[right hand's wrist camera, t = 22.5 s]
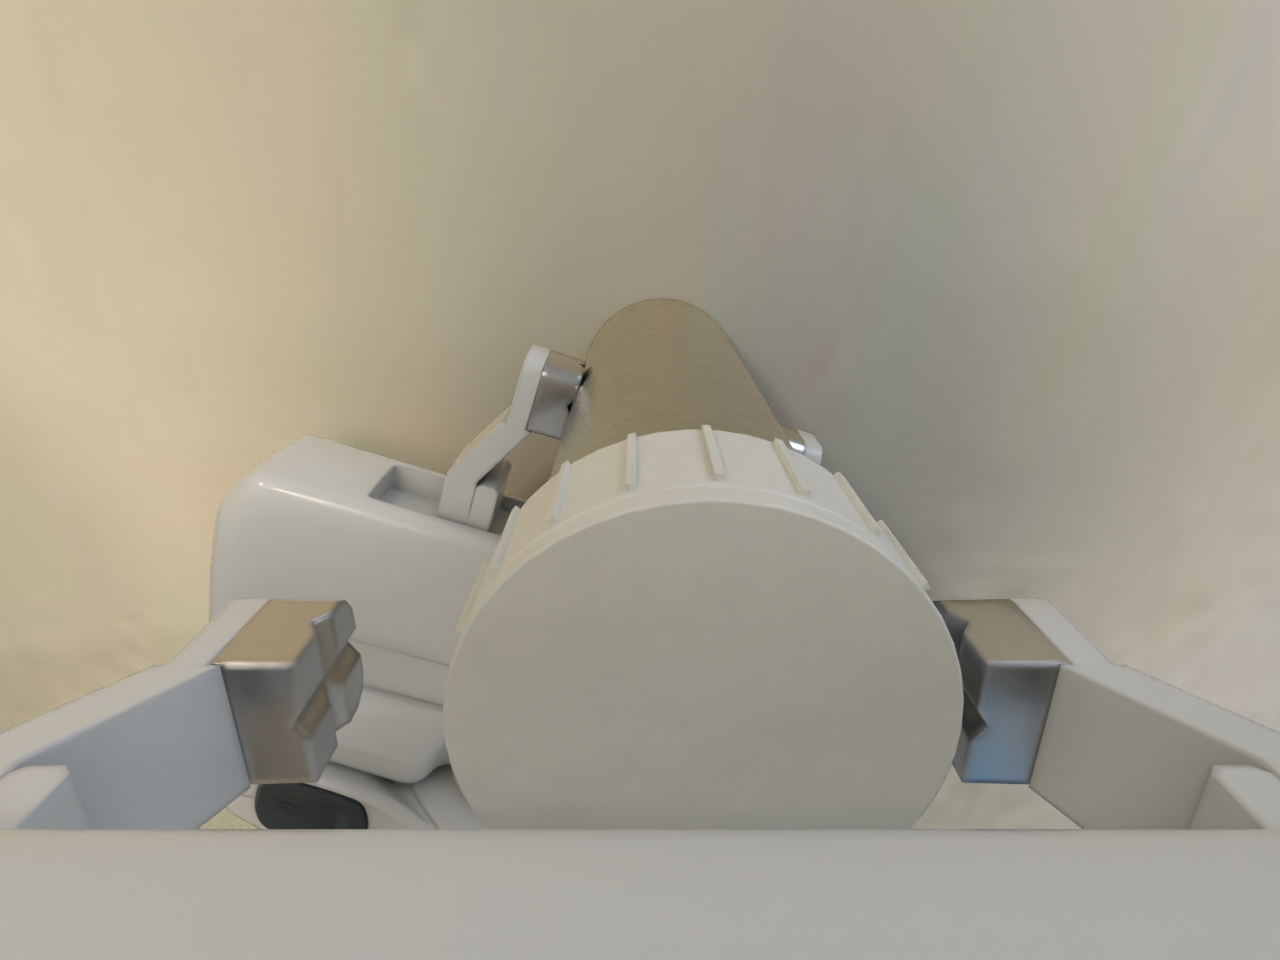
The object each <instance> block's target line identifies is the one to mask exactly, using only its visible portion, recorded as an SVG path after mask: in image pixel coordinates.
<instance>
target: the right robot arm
mask: <svg viewBox="0 0 1280 960" xmlns="http://www.w3.org/2000/svg"><path fill="white" fill-rule="evenodd" d="M932 602H933V604H934V605H935V607H936V608H937V610H938V611H939V613H940V614H941V616H942V618H943V620H944V622H945V624H946V626H947V629H948V631H949V633H950V635H951V638H952V640H953V642H954V645H955V649H956V653H957V656H958V660H959V664H960V668H961V673H962V685H963V697H964V703H963V716H962V728H961V733H960V737H959V741H958V745H957V749H956V753H955V756H954V759H953V761H952V764H953V766H954V768H955V770H956V772H957V773H958V775H959V777H960V779H961V781H962V782H964V783H1000V784H1030V785H1029V788H1031V789H1032V790H1033V791H1035V792H1036V793H1037V794H1038V795H1040V796H1041V797H1042V798H1043V799H1045V800H1046V801H1047V802H1049V803H1050V804H1051V805H1052V806H1054V807H1055V808H1056V809H1058V810H1059V811H1060V812H1061V813H1063V814H1064V815H1065V816H1067V817H1068V818H1069V819H1070V820H1072V821H1073V822H1074V823H1076V824H1077V825H1078V826H1079V827H1081V828H1082V829H198V828H200V827H201V826H202V825H203V824H205V823H206V822H207V821H209V820H210V819H211V818H212V817H214V816H215V815H216V814H218V813H219V812H220V811H221V810H223V809H224V808H225V807H227V806H228V805H229V804H230V803H232V802H233V801H234V800H236V799H237V798H238V797H239V796H241V795H242V794H243V793H244V792H246V791H247V790H248V789H250V788H251V786H250V784H279V783H314V782H318V781H319V779H320V777H321V775H322V773H323V772H324V770H325V768H326V766H327V764H328V763H329V761H330V759H331V757H332V755H333V754H334V752H335V750H336V748H337V746H338V742H337V737H336V731H338V730H339V729H341V728H342V727H344V726H345V725H347V724H348V723H350V722H351V720H352V719H353V717H354V715H355V713H356V711H357V709H358V707H359V702H360V698H361V694H362V689H363V665H362V658H361V654H360V653H359V652H358V651H357V650H356V649H355V648H354V647H353V646H352V645H351V644H350V643H349V642H348V640H349V638H350V637H351V635H352V633H353V632H354V630H355V629H356V624H355V619H354V614H353V609H352V606H351V605H350V604H349V603H348V602H347V601H346V600H321V599H272V598H248V599H236V600H232V601H230V602H229V603H228V604H227V605H226V606H225V607H224V608H223V609H222V610H221V611H220V612H219V613H218V614H217V615H216V616H215V617H214V618H213V619H212V620H211V621H210V622H209V623H208V624H207V625H206V626H205V627H204V628H203V629H202V630H201V631H200V632H199V633H198V634H197V635H196V636H195V637H194V638H193V639H192V640H191V641H190V642H189V643H188V644H187V645H186V646H185V647H184V648H183V649H182V650H181V651H180V652H179V653H178V654H177V655H176V656H175V657H174V658H173V659H172V660H171V661H170V662H169V663H168V664H167V665H153V666H151V667H149V668H146V669H144V670H142V671H140V672H137V673H135V674H133V675H131V676H128V677H126V678H124V679H121V680H119V681H117V682H115V683H112V684H110V685H108V686H105V687H103V688H101V689H99V690H96V691H94V692H92V693H89V694H87V695H85V696H83V697H80V698H78V699H76V700H74V701H71V702H69V703H67V704H64V705H62V706H60V707H58V708H55V709H53V710H51V711H48V712H46V713H44V714H42V715H39V716H37V717H35V718H33V719H30V720H28V721H26V722H23V723H21V724H19V725H17V726H14V727H12V728H10V729H7V730H5V731H3V732H1V733H0V960H1280V733H1279V732H1277V731H1274V730H1272V729H1270V728H1268V727H1265V726H1263V725H1261V724H1259V723H1256V722H1254V721H1252V720H1249V719H1247V718H1245V717H1243V716H1240V715H1238V714H1236V713H1234V712H1231V711H1229V710H1227V709H1224V708H1222V707H1220V706H1218V705H1215V704H1213V703H1211V702H1209V701H1206V700H1204V699H1202V698H1199V697H1197V696H1195V695H1193V694H1190V693H1188V692H1186V691H1184V690H1181V689H1179V688H1177V687H1174V686H1172V685H1170V684H1168V683H1165V682H1163V681H1161V680H1159V679H1156V678H1154V677H1152V676H1149V675H1147V674H1145V673H1143V672H1140V671H1138V670H1136V669H1133V668H1131V667H1129V666H1127V665H1113V664H1112V663H1111V662H1110V661H1109V660H1108V659H1107V658H1106V657H1105V656H1104V655H1103V654H1102V653H1101V652H1100V651H1099V650H1098V649H1097V648H1096V647H1095V646H1094V645H1093V644H1092V643H1091V642H1090V641H1089V640H1088V639H1087V638H1086V637H1085V636H1084V635H1083V634H1082V633H1081V632H1080V631H1079V630H1078V629H1077V628H1076V627H1075V626H1074V625H1073V624H1072V623H1071V622H1070V621H1069V620H1068V619H1067V618H1066V617H1065V616H1064V615H1063V614H1062V613H1061V612H1060V611H1059V610H1058V609H1057V608H1056V607H1055V606H1054V605H1053V604H1052V603H1051V602H1050V601H1047V600H1045V599H1042V598H1022V599H989V600H948V601H932Z"/></svg>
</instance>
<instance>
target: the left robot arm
mask: <svg viewBox="0 0 1280 960" xmlns="http://www.w3.org/2000/svg"><path fill="white" fill-rule="evenodd" d="M586 363H587V362H585V361H582V360H579V359H576V358H573V357H570V356H567V355H564V354H561V353H558V352H555V351H551V349H548V348H544V347H541V346H537V345H532V346H531V348H530V350H529V351H528V353H527V355H526V358H525V360H524V363H523V366H522V369H521V372H520V375H519V379H518V382H517V386H516V390H515V393H514V397H513V401H512V404H511V405H510V406H509V407H508V408H507V409H506V410H505V411H503V412H502V413H501V414H500V415H499V416H498V417H497V418H496V419H495V420H494V421H493V422H491V423H490V424H489V425H488V426H487V427H486V428H485V429H484V430H483V431H482V432H480V433H479V434H478V435H477V436H476V437H475V438H474V439H473V440H472V441H471V442H470V443H468V444H467V445H466V446H465V447H464V449H463V450H462V452H461V453H460V455H459V456H458V458H457V459H456V461H455V462H454V464H453V465H452V467H451V468H450V470H449V471H448V473H447V474H446V475H445V474H441V473H438V472H435V471H431V470H428V469H424V468H421V467H418V466H414V465H411V464H408V463H404V462H401V461H398V460H394V459H391V458H387V457H384V456H381V455H377V454H374V453H371V452H367V451H364V450H361V449H357V448H354V447H350V446H347V445H344V444H340V443H337V442H334V441H331V440H327V439H324V438H320V437H315V436H305V437H301V438H298V439H296V440H294V441H292V442H291V443H289V444H287V445H285V446H284V447H282V448H280V449H278V450H276V451H275V452H273V453H271V454H270V455H268V456H267V457H265V458H263V459H262V460H260V461H259V462H257V463H256V464H255V465H254V466H253V467H251V468H250V469H249V470H248V471H246V472H245V473H244V474H243V475H241V476H240V477H239V478H238V479H237V480H236V481H235V482H234V483H233V484H232V486H231V487H230V488H229V489H228V491H227V492H226V494H225V495H224V497H223V499H222V501H221V503H220V506H219V509H218V513H217V518H216V524H215V530H214V538H213V547H212V558H211V571H210V593H209V622H210V621H211V620H212V619H213V618H214V617H215V616H216V615H217V614H218V613H219V612H220V611H221V610H222V609H223V608H224V607H225V606H226V605H227V604H228V603H229V602H230V601H232V600H236V599H248V598H272V599H321V600H346V601H347V602H348V603H349V604H350V605H351V606H352V609H353V614H354V619H355V624H356V629H355V630H354V632H353V633H352V635H351V637H350V638H349V640H348V642H349V643H350V644H351V645H352V646H353V647H354V648H355V649H356V650H357V651H358V652H359V653H360V654H361V658H362V665H363V689H362V694H361V698H360V702H359V707H358V709H357V711H356V713H355V715H354V717H353V719H352V720H351V722H350V723H348V724H347V725H345V726H344V727H342V728H341V729H339V730H338V731H336V737H337V742H338V746H337V748H336V750H335V752H334V754H333V755H332V757H331V759H330V761H329V763H328V764H327V766H326V768H325V770H324V772H323V773H322V775H321V777H320V779H319V781H318V782H314V783H279V784H250V786H251V788H250V789H248V790H247V791H246V792H244V793H243V794H242V795H241V796H239V797H238V798H237V799H236V800H234V801H233V802H232V803H230V804H229V805H228V806H227V807H225V808H226V809H227V810H228V811H229V812H230V813H232V814H233V815H235V816H236V817H238V818H240V819H242V820H243V821H245V822H247V823H249V824H251V825H253V826H255V827H257V828H260V829H486V828H485V826H484V825H483V824H482V823H481V822H480V820H479V819H478V818H477V817H476V815H475V813H474V812H473V810H472V808H471V807H470V805H469V804H468V802H467V800H466V799H465V797H464V795H463V794H462V791H461V789H460V787H459V784H458V782H457V780H456V777H455V775H454V773H453V770H452V767H451V763H450V759H449V755H448V751H447V747H446V744H445V735H444V724H443V704H444V690H445V684H446V680H447V676H448V671H449V667H450V663H451V659H452V657H453V654H454V652H455V649H456V647H457V644H458V642H459V638H455V637H453V635H454V632H455V629H456V627H457V624H458V622H459V620H460V617H461V615H462V612H463V610H464V608H465V605H466V603H467V600H468V598H469V596H470V593H471V591H472V588H473V586H474V584H475V581H476V579H477V576H478V574H479V572H480V569H481V567H482V564H483V562H484V561H487V562H490V561H491V559H492V556H493V554H494V552H495V549H496V547H497V544H498V542H499V540H500V538H501V536H502V533H503V531H504V528H505V526H506V523H507V520H508V518H509V515H510V513H511V511H512V509H513V508H514V507H515V506H517V507H519V508H520V509H521V508H522V506H523V505H524V504H525V503H526V501H527V500H528V499H526V498H522V497H519V496H515V495H512V494H509V493H505V488H506V484H507V480H508V476H509V473H510V469H511V464H510V462H509V461H507V460H504V459H503V458H504V457H505V456H506V455H508V454H509V453H510V452H511V451H512V450H513V449H514V448H515V447H516V446H517V445H518V444H519V443H520V442H522V441H523V440H524V439H525V438H526V437H527V436H528V435H529V434H530V433H531V432H535V433H538V434H542V435H545V436H549V437H553V438H556V439H560V440H562V436H563V433H564V430H565V427H566V423H567V420H568V417H569V414H570V410H571V407H572V404H573V401H574V399H575V396H576V394H577V392H578V390H579V387H580V383H581V380H582V377H583V373H584V370H585V367H586ZM779 425H780V427H781V429H782V430H783V432H784V434H785V435H786V437H787V439H788V440H789V442H790V444H791V445H792V447H793V449H794V451H795V452H797V453H800V454H802V455H804V456H805V457H807V458H809V459H810V460H812V461H813V462H815V463H817V464H818V465H821V460H822V454H823V448H822V446H821V444H820V443H819V442H818V440H817V439H816V437H815V436H814V435H813V434H810V433H807V432H804V431H801V430H797V429H795V428H792V427H788V426H785V425H782V424H779Z"/></svg>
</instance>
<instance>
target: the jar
mask: <svg viewBox="0 0 1280 960" xmlns="http://www.w3.org/2000/svg"><path fill="white" fill-rule="evenodd" d="M586 362H587V363H586V367H585V370H584V373H583V377H582V380H581V383H580V387H579V390H578V392H577V394H576V396H575V399H574V401H573V404H572V407H571V410H570V414H569V417H568V420H567V423H566V427H565V430H564V433H563V436H562V440H561V443H560V446H559V449H558V453H557V456H556V459H555V462H554V466H553V469H552V472H551V475H550V479H551V478H552V477H554V476H555V475H556V474H558V473H559V471H560V468H561V465H562V464H563V463H565V462H566V461H569V463H570V464H572V463H574V462H576V461H578V460H580V459H582V458H584V457H585V456H587V455H589V454H591V453H593V452H595V451H597V450H599V449H602V448H604V447H607V446H610V445H613V444H615V443H618V442H621V441H624V440H626V439H627V436H628V434H631V433H636V435H637V437H639V436H644V435H648V434H652V433H657V432H667V431H677V430H702V425H710V426H711V429H712V430H719V431H725V432H732V433H738V434H745V435H749V436H753V437H756V438H760V439H763V440H767V441H770V442H774V440H775V438H778V439H780V440H783V442H784V444H785V445H786V447H787V448H788V449H790V450H793V451H794V449H793V447H792V445H791V444H790V442H789V440H788V439H787V437H786V435H785V434H784V432H783V430H782V429H781V427H780V425H779V423H778V422H777V420H776V418H775V417H774V415H773V413H772V412H771V410H770V408H769V407H768V405H767V403H766V401H765V400H764V398H763V396H762V395H761V393H760V391H759V390H758V388H757V386H756V384H755V383H754V381H753V379H752V378H751V376H750V374H749V373H748V371H747V369H746V368H745V366H744V364H743V362H742V361H741V359H740V357H739V356H738V354H737V352H736V351H735V349H734V347H733V346H732V344H731V342H730V340H729V339H728V337H727V335H726V334H725V332H724V331H723V329H722V328H721V327H720V325H719V324H718V323H717V322H716V321H715V320H714V319H713V318H712V317H711V316H709V315H708V314H707V313H705V312H704V311H703V310H701V309H699V308H697V307H695V306H693V305H691V304H688V303H686V302H682V301H678V300H673V299H651V300H645V301H641V302H638V303H635V304H632V305H630V306H628V307H626V308H624V309H622V310H621V311H619V312H618V313H616V314H615V315H614V316H612V317H611V318H610V319H609V320H608V321H607V322H606V323H605V324H604V325H603V326H602V327H601V329H600V330H599V332H598V333H597V335H596V336H595V338H594V340H593V342H592V344H591V346H590V349H589V352H588V355H587V358H586Z"/></svg>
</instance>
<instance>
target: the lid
mask: <svg viewBox="0 0 1280 960" xmlns="http://www.w3.org/2000/svg"><path fill="white" fill-rule="evenodd" d="M929 590H931V587H930V585H929V583H928V582H927V580H926V579H925V578H924V576H923V575H922V574H921V572H920V571H919V569H918V568H917V567H916V565H915V564H914V563H913V561H912V560H911V559H910V557H909V556H908V554H907V553H906V552H905V550H904V549H903V548H902V546H901V545H900V543H899V542H898V541H897V539H896V538H895V537H894V535H893V534H892V533H891V531H890V530H889V528H888V527H887V526H886V524H885V523H884V522H883V520H882V519H881V520H879V521H877V522H876V521H875V520H874V518H873V517H872V515H871V514H870V512H869V511H868V510H867V508H866V507H865V505H864V504H863V503H862V501H861V500H860V498H859V497H858V496H857V494H856V493H855V491H854V490H853V488H852V487H851V486H850V484H849V483H848V481H847V480H846V479H845V477H844V476H843V475H842V474H841V473H840V472H838V471H837V472H836V473H835V474H834V475H833V474H831V473H830V472H829V471H828V470H826V469H825V468H823V467H822V466H820V465H818V464H817V463H815V462H813V461H812V460H810V459H809V458H807V457H805V456H804V455H802V454H800V453H797V452H795V451H793V450H790V449H788V448H787V447H786V445H785V444H784V442H783V440H780V439H778V438H775V440H774V442H770V441H767V440H763V439H760V438H756V437H753V436H749V435H745V434H738V433H732V432H725V431H719V430H712V429H711V426H710V425H702V430H677V431H667V432H657V433H652V434H648V435H644V436H639V437H637V435H636V433H631V434H628V436H627V439H626V440H624V441H621V442H618V443H615V444H613V445H610V446H607V447H604V448H602V449H599V450H597V451H595V452H593V453H591V454H589V455H587V456H585V457H584V458H582V459H580V460H578V461H576V462H574V463H572V464H570V463H569V461H566V462H565V463H563V464H562V465H561V468H560V471H559V473H558V474H556V475H555V476H554V477H552V478H551V479H549V480H548V481H547V482H546V483H545V484H544V485H543V486H542V487H541V488H540V489H539V490H537V491H536V492H535V493H534V494H533V495H532V496H531V497H530V498H529V499H528V500H527V501H526V503H525V504H524V505H523V506H522V508H521V509H520V508H519V507H517V506H515V507H514V508H513V509H512V511H511V513H510V515H509V518H508V520H507V523H506V526H505V528H504V531H503V533H502V536H501V538H500V540H499V542H498V544H497V547H496V549H495V552H494V554H493V556H492V559H491V561H490V562H487V561H484V562H483V564H482V567H481V569H480V572H479V574H478V576H477V579H476V581H475V584H474V586H473V588H472V591H471V593H470V596H469V598H468V600H467V603H466V605H465V608H464V610H463V612H462V615H461V617H460V620H459V622H458V624H457V627H456V629H455V632H454V635H453V637H455V638H459V642H458V644H457V647H456V649H455V652H454V654H453V657H452V659H451V663H450V667H449V671H448V676H447V680H446V684H445V690H444V704H443V724H444V735H445V744H446V747H447V751H448V755H449V759H450V763H451V767H452V770H453V773H454V775H455V777H456V780H457V782H458V784H459V787H460V789H461V791H462V794H463V795H464V797H465V799H466V800H467V802H468V804H469V805H470V807H471V808H472V810H473V812H474V813H475V815H476V817H477V818H478V819H479V820H480V822H481V823H482V824H483V825H484V826H485V828H486V829H911V828H912V827H913V826H914V825H915V823H916V822H917V821H918V819H919V818H920V817H921V816H922V814H923V813H924V812H925V811H926V809H927V808H928V807H929V805H930V804H931V802H932V801H933V799H934V797H935V796H936V794H937V792H938V791H939V789H940V787H941V786H942V784H943V782H944V780H945V778H946V776H947V773H948V771H949V768H950V766H951V764H952V761H953V759H954V756H955V753H956V749H957V745H958V741H959V737H960V733H961V728H962V716H963V703H964V697H963V685H962V673H961V668H960V664H959V660H958V656H957V653H956V649H955V645H954V642H953V640H952V638H951V635H950V633H949V631H948V629H947V626H946V624H945V622H944V620H943V618H942V616H941V614H940V613H939V611H938V610H937V608H936V607H935V605H934V604H933V602H932V601H931V599H930V598H929V596H928V595H927V593H926V592H927V591H929Z"/></svg>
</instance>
